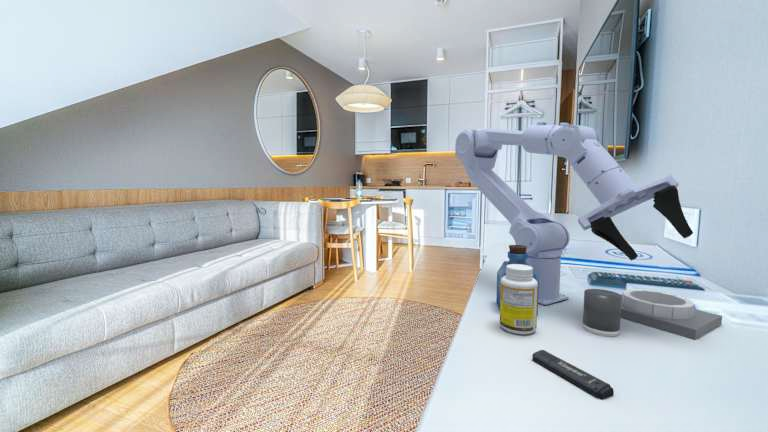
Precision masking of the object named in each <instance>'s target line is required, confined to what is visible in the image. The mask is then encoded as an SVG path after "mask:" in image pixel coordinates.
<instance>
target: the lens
mask: <svg viewBox="0 0 768 432" xmlns="http://www.w3.org/2000/svg"><path fill="white" fill-rule="evenodd" d="M583 292H584V293H583V295H584V296H583V311H582V312H583V313H582V329H583V330H584V331H586V332H588V333H590V334H593V335H596V336H601V337H606V338H616V337H619V336H620V335H621V321H622V320H621V319H622V318H621V307H622V295H621V294H620V293H618V292H616V291H612V290H608V289H607V290H606V289H601V288H586V289H585V290H584V291H583Z"/></svg>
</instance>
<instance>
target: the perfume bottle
mask: <svg viewBox="0 0 768 432" xmlns="http://www.w3.org/2000/svg"><path fill="white" fill-rule="evenodd" d="M508 248H509V251H507V258H508V261H507V260H504V261H503V263H502V264H501V266H499V269H498V270H497V272H496V276H497V277H496V297H495V298H496V302H495V303H496V305H497V308H498V310H499V311H500V290H501V278H502V277H504V276H506V266H507V265H509V264H522V265H528V266H530V265H529V264H528V263H527V262H526V259H528V253H526V249H527V246H523V245H516V244H510V245H508ZM533 278H534V279H535V280H536V281H537V282H538V280H537V278H536V276H535V274H534V272H533ZM538 292H539V282H538ZM538 313H539V303H538V298H537V318H538V315H539V314H538Z"/></svg>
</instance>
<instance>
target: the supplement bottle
mask: <svg viewBox="0 0 768 432" xmlns="http://www.w3.org/2000/svg"><path fill="white" fill-rule="evenodd" d="M537 298H538V282H537V281H536V280H535V279H534V278H533V268H532V267H531V266H528V265H522V264H509V265H507V266H506V276H504V277H502V278H501V290H500V310H499V325H500V327H501V328H502V329H503V330H504V331H506V332H509V333H512V334H515V335H525V336H526V335H532V334H533V333H535V332H536V330H537V319H538V317H537Z"/></svg>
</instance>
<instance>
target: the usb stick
mask: <svg viewBox="0 0 768 432" xmlns="http://www.w3.org/2000/svg"><path fill="white" fill-rule="evenodd" d="M532 361H533V362H535V363H536V364H538V365H540V366H542V367H544V368H545V369H546V370H548V371H550V372H551V373H554V374H555V375H557V376H558V377H561V378H562V379H564V380H565V381H567V382H569V383H571V384H572V385H574V386H576V387H577V388H579V389H580V390H583V391H584V392H587V394H590V395H592V396H593V397H595V398H597V399H602V400H606V399H609V398H612V397H613V396H614V394H615V393H614V392H615V391H614V388H613V387H612V386H611V385H610V383H607V381H606V382H605V381H603V380H602V379H600V378H598V377H596V376H594V375H593V374H591V373H588V372H587V371H584V370H583V369H580V368H579V367H577V366H575V365H573V364H571V363H569V362H567V361H565V360H564V359H561V358H560V357H557V356H556V355H554V354H552V353H551V352H548V351H547V350H545V349H540V350H538V351H535V352H533V353H532Z"/></svg>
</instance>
